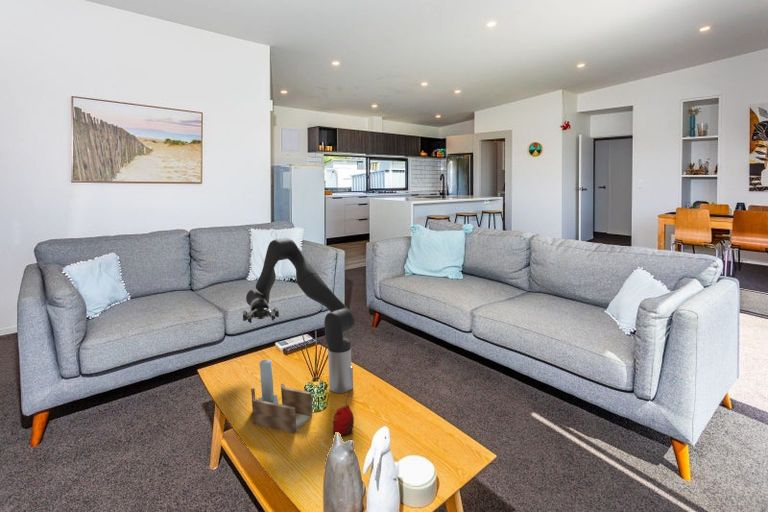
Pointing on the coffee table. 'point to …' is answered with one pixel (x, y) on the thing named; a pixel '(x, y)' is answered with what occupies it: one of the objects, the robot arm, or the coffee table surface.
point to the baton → (266, 380)
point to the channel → (283, 410)
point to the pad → (274, 399)
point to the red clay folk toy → (343, 419)
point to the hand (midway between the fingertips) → (261, 319)
